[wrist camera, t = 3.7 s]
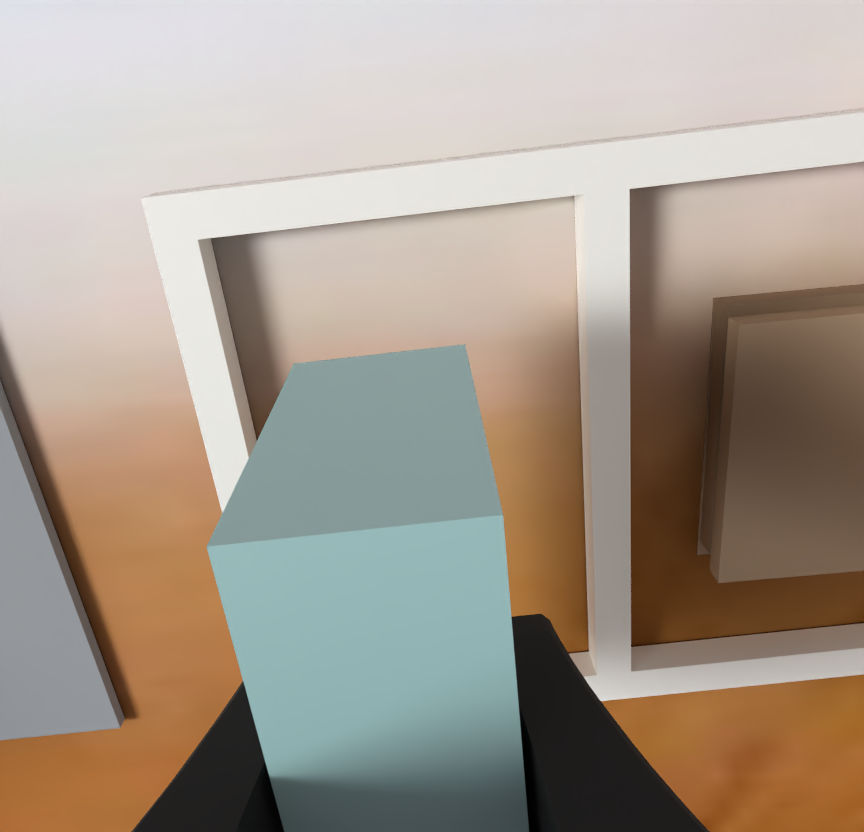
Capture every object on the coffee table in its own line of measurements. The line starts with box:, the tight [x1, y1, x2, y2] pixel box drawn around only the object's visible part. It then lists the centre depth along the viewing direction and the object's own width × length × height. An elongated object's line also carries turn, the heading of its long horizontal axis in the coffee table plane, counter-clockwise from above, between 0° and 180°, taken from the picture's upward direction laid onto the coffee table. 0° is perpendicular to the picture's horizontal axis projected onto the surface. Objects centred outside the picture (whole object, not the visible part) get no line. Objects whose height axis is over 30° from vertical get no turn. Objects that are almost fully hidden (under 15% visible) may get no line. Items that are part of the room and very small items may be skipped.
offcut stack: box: [697, 284, 864, 583], centre depth 15 cm, size 6×4×2 cm, turn 5°
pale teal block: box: [207, 344, 529, 832], centre depth 9 cm, size 8×2×5 cm, turn 6°
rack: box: [141, 109, 864, 701], centre depth 15 cm, size 12×16×1 cm
